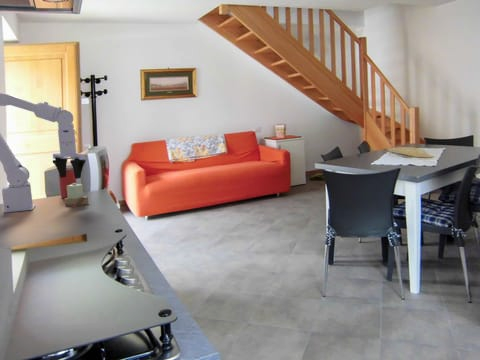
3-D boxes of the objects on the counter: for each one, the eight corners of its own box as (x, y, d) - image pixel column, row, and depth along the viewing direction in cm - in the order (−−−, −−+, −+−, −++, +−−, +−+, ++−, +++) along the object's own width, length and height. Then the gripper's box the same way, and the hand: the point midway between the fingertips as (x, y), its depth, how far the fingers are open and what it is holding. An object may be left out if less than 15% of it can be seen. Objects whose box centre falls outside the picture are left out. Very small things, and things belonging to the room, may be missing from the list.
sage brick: (75, 199, 160) (74, 184, 159) (67, 198, 162) (66, 184, 161) (83, 197, 164) (82, 182, 163) (75, 196, 165) (74, 182, 164)
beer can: (61, 196, 180) (59, 168, 178) (78, 194, 182) (75, 167, 180) (60, 199, 174) (57, 170, 172) (77, 197, 176) (74, 169, 174)
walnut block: (75, 207, 159) (74, 200, 159) (65, 206, 162) (64, 198, 162) (88, 204, 164) (87, 196, 164) (78, 203, 167) (77, 195, 167)
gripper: (89, 141, 160) (92, 177, 163) (61, 141, 166) (65, 175, 169) (75, 143, 154) (78, 180, 156) (46, 142, 160) (50, 178, 162)
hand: (70, 177), depth 162 cm, fingers open, 7 cm apart
